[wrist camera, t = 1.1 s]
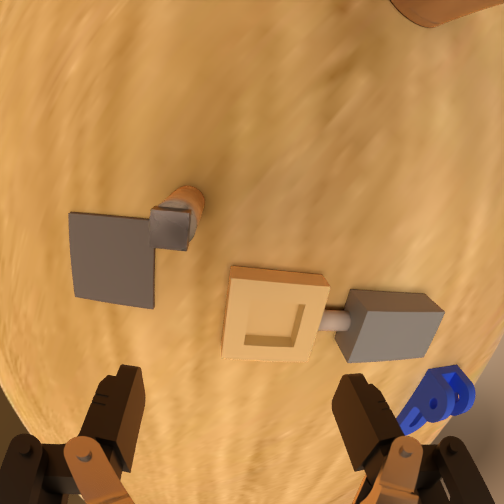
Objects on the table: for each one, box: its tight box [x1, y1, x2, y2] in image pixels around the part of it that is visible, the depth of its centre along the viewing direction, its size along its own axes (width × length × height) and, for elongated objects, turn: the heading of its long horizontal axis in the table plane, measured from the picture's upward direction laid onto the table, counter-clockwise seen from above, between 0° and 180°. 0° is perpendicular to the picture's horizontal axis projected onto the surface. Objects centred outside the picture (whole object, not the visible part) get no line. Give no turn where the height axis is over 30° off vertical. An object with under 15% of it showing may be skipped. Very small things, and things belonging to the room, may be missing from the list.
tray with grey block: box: [221, 266, 445, 363], centre depth 31 cm, size 26×10×5 cm, turn 82°
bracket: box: [396, 365, 475, 436], centre depth 40 cm, size 18×8×9 cm, turn 170°
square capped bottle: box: [149, 186, 205, 251], centre depth 23 cm, size 3×3×10 cm
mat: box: [69, 212, 155, 309], centre depth 29 cm, size 10×10×1 cm
